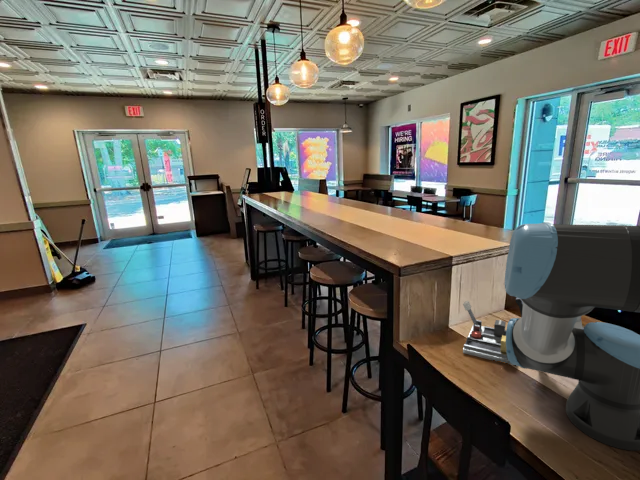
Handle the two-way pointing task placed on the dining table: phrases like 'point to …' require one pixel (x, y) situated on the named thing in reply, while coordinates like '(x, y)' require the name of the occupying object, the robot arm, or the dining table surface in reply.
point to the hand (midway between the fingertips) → (537, 352)
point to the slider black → (499, 328)
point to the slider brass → (503, 345)
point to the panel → (484, 343)
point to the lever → (470, 311)
